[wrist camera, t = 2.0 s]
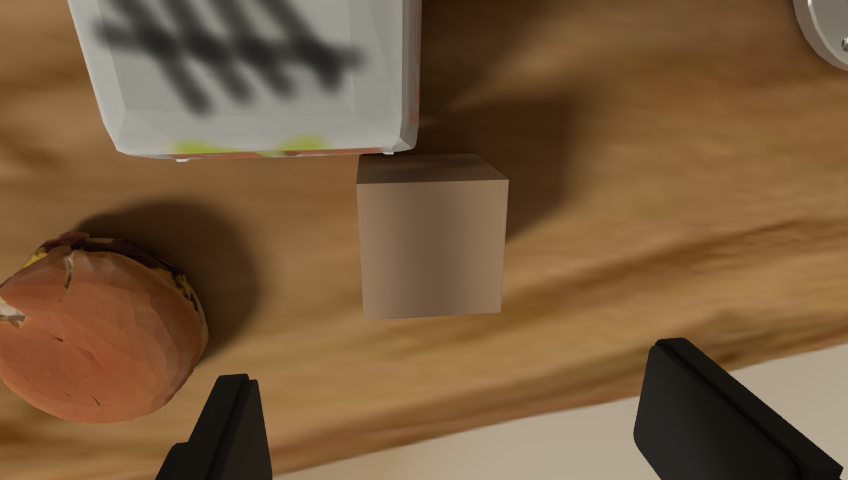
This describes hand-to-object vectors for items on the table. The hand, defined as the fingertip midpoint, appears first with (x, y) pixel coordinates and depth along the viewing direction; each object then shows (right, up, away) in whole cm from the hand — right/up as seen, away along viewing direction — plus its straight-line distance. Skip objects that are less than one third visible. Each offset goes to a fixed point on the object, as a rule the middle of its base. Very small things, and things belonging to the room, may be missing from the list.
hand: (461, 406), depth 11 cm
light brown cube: (-1, +6, +14) cm, 15 cm away
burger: (-17, 0, +14) cm, 22 cm away
